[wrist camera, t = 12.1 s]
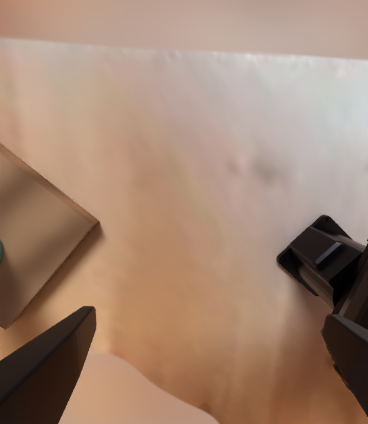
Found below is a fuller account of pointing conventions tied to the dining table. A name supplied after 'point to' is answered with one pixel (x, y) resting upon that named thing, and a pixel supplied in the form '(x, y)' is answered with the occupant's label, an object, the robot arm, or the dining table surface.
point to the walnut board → (33, 233)
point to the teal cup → (1, 252)
